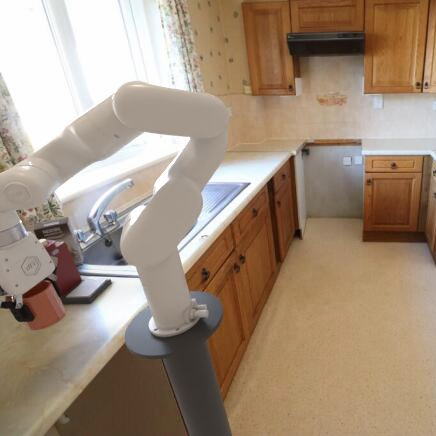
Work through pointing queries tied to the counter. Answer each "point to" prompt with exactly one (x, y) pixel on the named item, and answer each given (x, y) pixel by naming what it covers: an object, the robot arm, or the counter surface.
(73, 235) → the coffee box
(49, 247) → the column
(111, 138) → the robot arm
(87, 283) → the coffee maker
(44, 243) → the brew button
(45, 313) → the cup
